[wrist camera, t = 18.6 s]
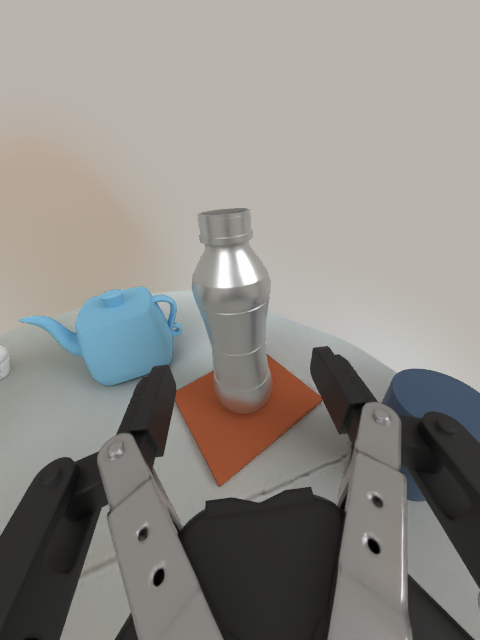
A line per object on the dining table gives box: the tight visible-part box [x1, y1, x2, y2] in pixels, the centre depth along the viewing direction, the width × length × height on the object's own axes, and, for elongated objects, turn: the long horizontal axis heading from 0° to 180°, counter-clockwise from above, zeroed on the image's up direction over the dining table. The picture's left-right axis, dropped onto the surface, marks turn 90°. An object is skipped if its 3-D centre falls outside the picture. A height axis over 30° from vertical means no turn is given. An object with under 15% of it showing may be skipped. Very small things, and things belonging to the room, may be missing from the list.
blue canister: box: [382, 369, 480, 501], centre depth 17 cm, size 6×6×9 cm
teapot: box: [19, 287, 182, 386], centre depth 30 cm, size 12×18×12 cm
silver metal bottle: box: [192, 208, 272, 414], centre depth 20 cm, size 6×7×20 cm
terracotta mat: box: [175, 354, 322, 487], centre depth 26 cm, size 14×12×1 cm
